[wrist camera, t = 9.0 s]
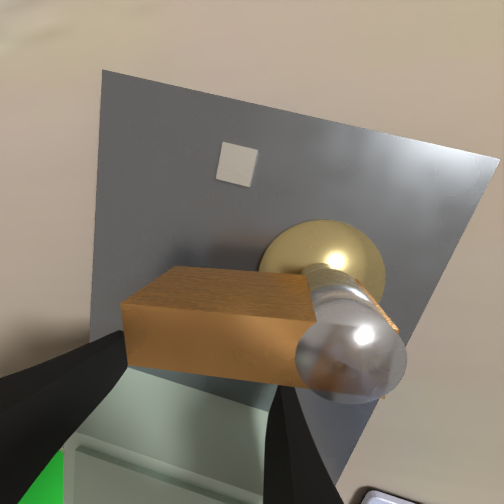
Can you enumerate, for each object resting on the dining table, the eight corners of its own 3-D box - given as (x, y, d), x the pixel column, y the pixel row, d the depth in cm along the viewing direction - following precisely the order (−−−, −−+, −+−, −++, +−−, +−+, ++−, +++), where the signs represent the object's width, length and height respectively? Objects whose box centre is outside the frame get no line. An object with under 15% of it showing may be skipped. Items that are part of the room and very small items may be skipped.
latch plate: (473, 163, 9) (505, 158, 8) (309, 506, 15) (312, 536, 14) (122, 82, 10) (98, 66, 9) (98, 433, 16) (81, 455, 15)
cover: (281, 416, 12) (280, 509, 9) (250, 501, 14) (238, 606, 11) (121, 365, 13) (59, 432, 9) (113, 454, 15) (58, 537, 11)
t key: (191, 247, 10) (118, 291, 6) (354, 257, 9) (417, 318, 5) (193, 298, 11) (129, 374, 6) (346, 312, 10) (395, 410, 5)
